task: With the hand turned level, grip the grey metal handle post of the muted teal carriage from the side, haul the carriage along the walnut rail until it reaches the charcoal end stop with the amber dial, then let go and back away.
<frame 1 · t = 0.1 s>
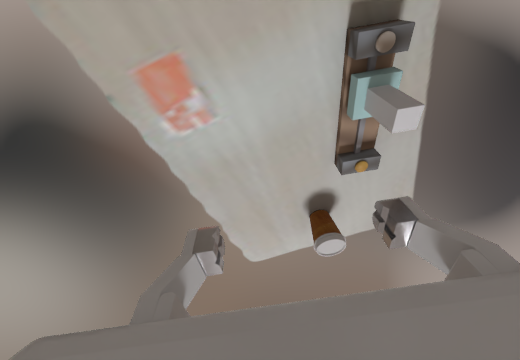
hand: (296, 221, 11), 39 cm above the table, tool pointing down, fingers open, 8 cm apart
disposable coffee cup: (318, 215, 72), on the table
rail: (359, 106, 49), on the table
carriage: (385, 104, 39), point 9 cm above the table, slide at 0.0 cm
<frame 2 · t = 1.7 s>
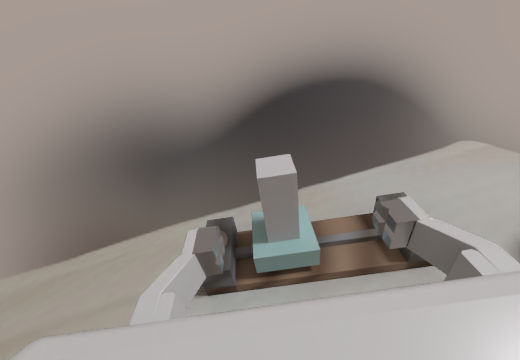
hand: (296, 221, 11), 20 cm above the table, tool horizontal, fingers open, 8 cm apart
rail: (311, 251, 32), on the table
carriage: (279, 209, 27), point 9 cm above the table, slide at 0.0 cm
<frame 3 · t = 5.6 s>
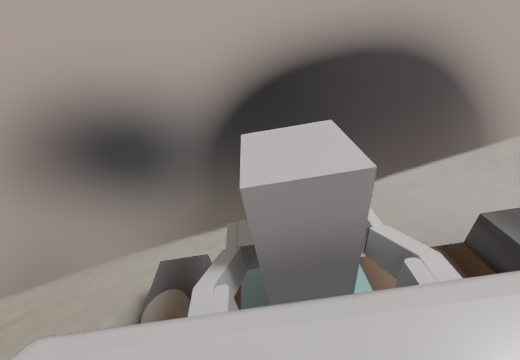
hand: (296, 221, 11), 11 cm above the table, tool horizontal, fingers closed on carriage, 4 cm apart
rail: (358, 323, 17), on the table
carriage: (301, 256, 12), point 9 cm above the table, slide at 0.0 cm, touching gripper
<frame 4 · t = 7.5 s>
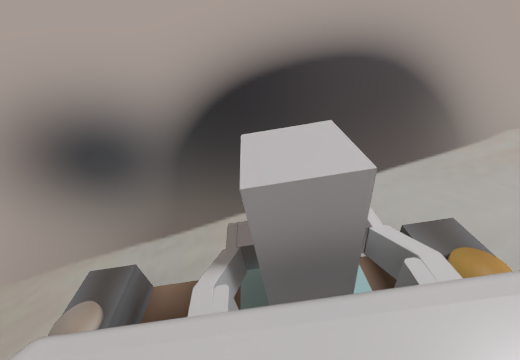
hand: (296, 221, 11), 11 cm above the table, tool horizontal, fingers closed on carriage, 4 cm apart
rail: (279, 333, 17), on the table
carriage: (301, 256, 12), point 9 cm above the table, slide at 6.1 cm, touching gripper
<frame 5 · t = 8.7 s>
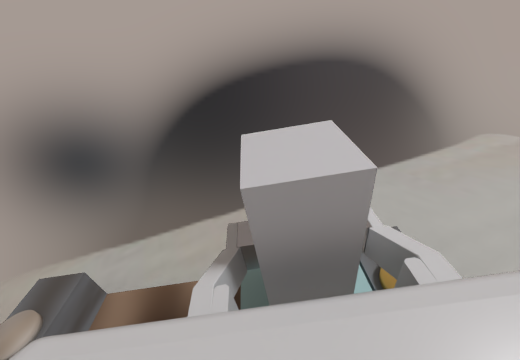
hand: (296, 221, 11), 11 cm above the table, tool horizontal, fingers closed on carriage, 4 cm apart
rail: (223, 341, 17), on the table
carriage: (301, 256, 12), point 9 cm above the table, slide at 10.5 cm, touching gripper
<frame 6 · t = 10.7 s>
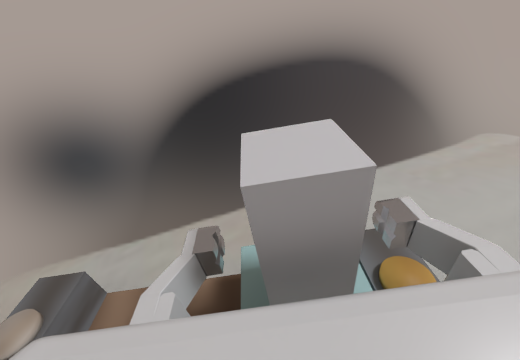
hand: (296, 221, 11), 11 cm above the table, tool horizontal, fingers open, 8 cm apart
rail: (223, 340, 17), on the table
carriage: (301, 255, 12), point 9 cm above the table, slide at 10.5 cm
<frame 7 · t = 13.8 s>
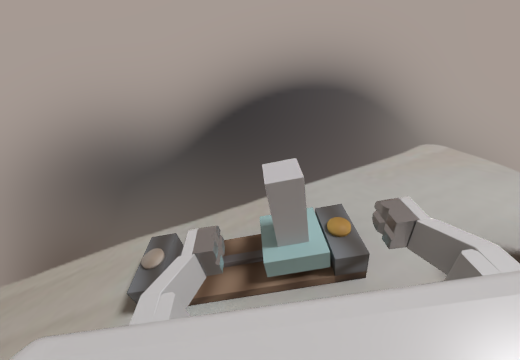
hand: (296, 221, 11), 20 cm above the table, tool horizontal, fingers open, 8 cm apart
rail: (251, 265, 33), on the table
carriage: (287, 213, 27), point 9 cm above the table, slide at 10.5 cm
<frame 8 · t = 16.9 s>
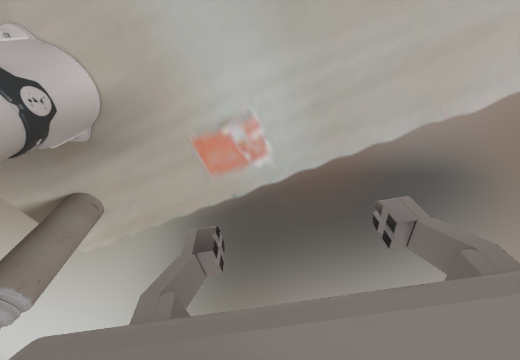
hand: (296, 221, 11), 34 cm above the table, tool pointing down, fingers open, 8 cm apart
thermos bottle: (86, 205, 53), on the table
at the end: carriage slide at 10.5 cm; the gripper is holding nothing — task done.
